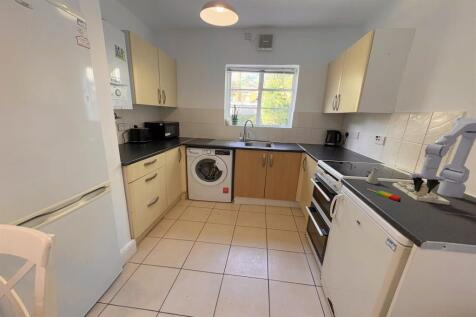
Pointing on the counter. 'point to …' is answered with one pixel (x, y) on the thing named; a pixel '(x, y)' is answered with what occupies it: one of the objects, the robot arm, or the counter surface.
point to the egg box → (428, 198)
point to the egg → (423, 190)
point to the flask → (373, 176)
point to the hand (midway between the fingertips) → (421, 191)
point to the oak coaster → (404, 183)
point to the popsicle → (387, 195)
